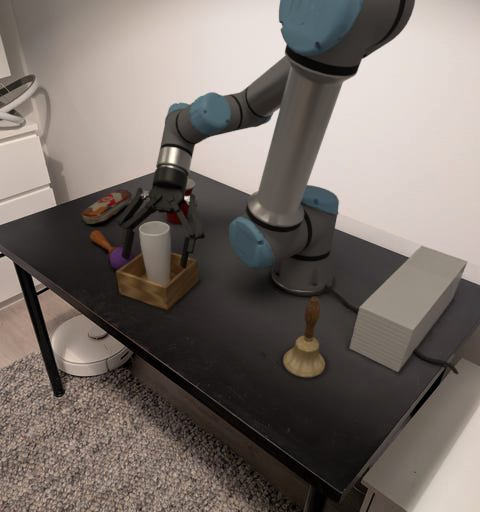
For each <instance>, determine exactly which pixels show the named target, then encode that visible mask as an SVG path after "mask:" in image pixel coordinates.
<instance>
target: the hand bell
mask: <svg viewBox="0 0 480 512" xmlns="http://www.w3.org/2000/svg"><path fill="white" fill-rule="evenodd" d="M320 315H321V305H320V301H319V297H318V296H311V298H310V300H309V302H308V303H307V305H306V307H305V311H304V321H305V330H304V335H301V336H299V337H298V338H297V339H296V340H295V343H294V345H293V347H292V348H290V349H289V350H288V351H286V352H285V353H284V355H283V358H282V364H283V366H284V368H285V369H286V370H287V371H288V372H289V373H290V374H292V375H294V376H296V377H300V378H305V379H307V378H308V379H309V378H314V377H317V376H319V375H321V374H322V373H323V372H324V370H325V368H326V361H325V359H324V357H323V355H322V354H321V353H320V343H319V341H318V339H316V338H315V337H314V333H315V327H316V325H317V323H318V321H319V319H320Z"/></svg>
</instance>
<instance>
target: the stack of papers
mask: <svg viewBox="0 0 480 512" xmlns="http://www.w3.org/2000/svg"><path fill="white" fill-rule="evenodd" d="M467 264H468V260H464V259H461V258H459V257H456V256H453V255H451V254H447V253H445V252H441V251H438V250H436V249H432V248H430V247H427V246H424V245H420V246H419V248H418V249H417V250H416V251H414V253H413V254H411V255H410V256H409V257H408V259H406V260H405V261H404V262H403V264H402V265H401V266H400V267H399V268H397V269H396V270H395V272H393V273H392V274H391V275H390V276H389V277H388V278H387V279H386V280H385V281H384V282H383V283H382V284H381V285H380V286H379V287H378V288H377V289H376V290H374V292H373V293H372V294H371V295H369V297H368V298H367V299H365V301H363V303H362V304H361V305H360V306H359V308H358V309H359V311H358V312H357V316H356V320H355V325H354V328H353V332H352V337H351V339H350V344H349V349H350V350H351V351H354V352H355V353H358V354H360V355H362V356H364V357H366V358H368V359H371V360H372V361H374V362H376V363H378V364H380V365H382V366H384V367H386V368H389V369H390V370H391V371H394V372H397V373H399V372H400V371H401V369H402V368H403V367H404V365H405V364H406V363H407V361H408V360H409V359H410V357H411V356H412V354H414V352H413V351H414V349H415V348H416V349H417V348H418V347H419V345H420V344H421V343H422V341H423V340H424V339H425V337H426V336H427V335H428V333H429V332H430V331H431V329H432V328H433V326H434V325H435V324H436V323H437V321H438V320H439V318H440V317H441V316H442V314H443V313H444V312H445V310H446V309H447V308H448V306H449V305H450V303H451V302H452V301H453V299H454V297H455V294H456V291H457V289H458V286H459V284H460V281H461V279H462V276H463V274H464V272H465V269H466V267H467Z"/></svg>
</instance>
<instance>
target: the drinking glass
mask: <svg viewBox="0 0 480 512" xmlns="http://www.w3.org/2000/svg"><path fill="white" fill-rule="evenodd" d="M138 233H139V234H138V235H139V243H140V250H141V253H142V255H143V260H144V264H145V269H146V274H147V280H149V281H152V282H155V283H158V284H161V285H164V286H165V285H167V284H168V283H169V282H170V281H171V279H170V267H171V252H172V236H171V227H170V225H169V224H167V223H166V222H163V221H157V220H155V221H153V220H152V221H147V222H145V223H143V224H140V225H139V228H138Z"/></svg>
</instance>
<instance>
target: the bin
mask: <svg viewBox="0 0 480 512" xmlns="http://www.w3.org/2000/svg"><path fill="white" fill-rule="evenodd" d="M181 256H182V254H179V253H176V252H172V251H171V267H170V279H171V281H170V282H169V283H168V284H167V285H165V286H164V285H161V284H158V283H155V282H152V281H149V280H147V274H146V269H145V264H144V260H143V255H142V252H141V253H139V254H138V255H136V256H134V259H132V260H131V261H130V262H128V263H127V264H126V265H124V266H123V267H122V268H120V269H119V270H115V274H116V280H117V286H118V287H117V288H118V294H119V295H122V296H124V297H128V298H131V299H134V300H136V301H139V302H143V303H144V304H145V303H146V304H148V305H149V306H150V305H151V306H154V307H156V308H160V309H161V310H164V311H169V310H170V309H171V308H172V307H173V306H174V305H175V304H176V303H177V302H179V301H180V300H181V298H183V297H184V296H185V295H186V294H187V293H188V292H189V291H190V290H191V289H192V288H193V287H194V286H196V284H197V283H198V282H199V262H198V261H199V260H198V259H196V258H192V257H189V256H188V261H187V266H186V268H182V267H181V266H180V261H181Z"/></svg>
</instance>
